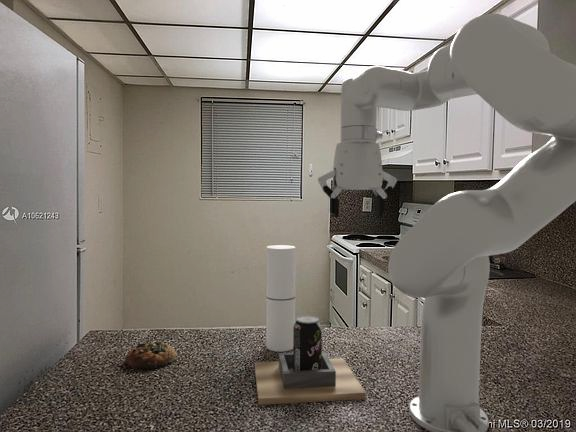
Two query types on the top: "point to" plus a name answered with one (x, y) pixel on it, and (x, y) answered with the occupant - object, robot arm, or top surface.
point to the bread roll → (150, 356)
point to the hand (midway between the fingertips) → (357, 216)
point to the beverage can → (307, 343)
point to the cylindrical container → (280, 297)
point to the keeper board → (305, 382)
